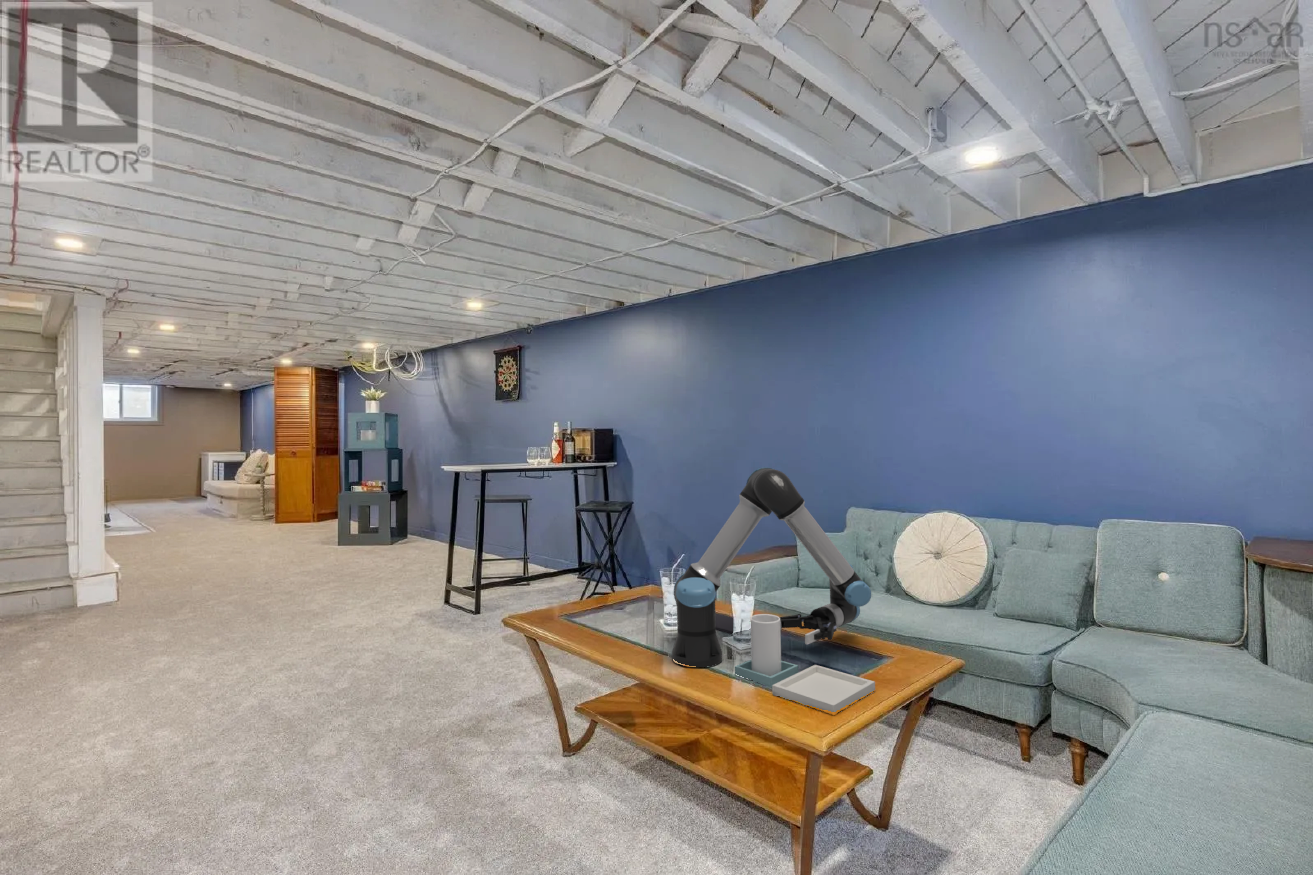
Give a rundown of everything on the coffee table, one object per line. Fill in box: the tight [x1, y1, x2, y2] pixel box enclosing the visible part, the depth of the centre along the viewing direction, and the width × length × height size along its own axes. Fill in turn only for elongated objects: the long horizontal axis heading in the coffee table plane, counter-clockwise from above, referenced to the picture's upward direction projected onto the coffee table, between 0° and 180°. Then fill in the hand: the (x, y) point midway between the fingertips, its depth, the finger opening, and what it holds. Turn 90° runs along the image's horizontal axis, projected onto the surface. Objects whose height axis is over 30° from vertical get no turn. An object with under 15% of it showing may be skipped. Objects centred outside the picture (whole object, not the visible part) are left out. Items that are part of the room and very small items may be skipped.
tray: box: [771, 664, 876, 712], centre depth 166 cm, size 20×18×2 cm
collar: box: [734, 659, 799, 688], centre depth 179 cm, size 13×13×2 cm
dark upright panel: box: [715, 612, 734, 635], centre depth 228 cm, size 13×2×21 cm
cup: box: [750, 613, 782, 676], centre depth 179 cm, size 8×8×16 cm
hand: (786, 634), depth 186 cm, fingers open, 13 cm apart
